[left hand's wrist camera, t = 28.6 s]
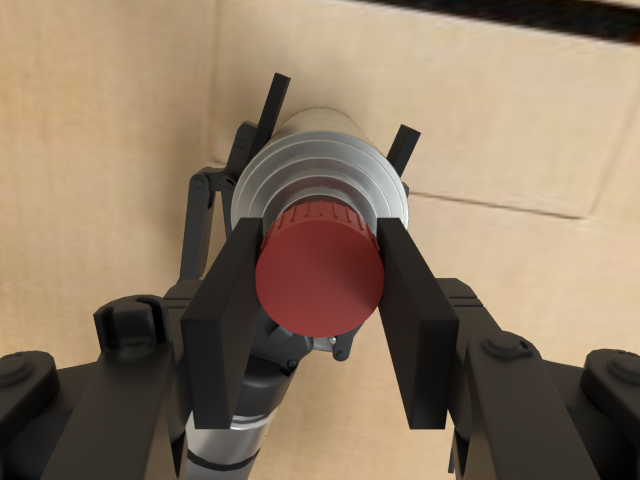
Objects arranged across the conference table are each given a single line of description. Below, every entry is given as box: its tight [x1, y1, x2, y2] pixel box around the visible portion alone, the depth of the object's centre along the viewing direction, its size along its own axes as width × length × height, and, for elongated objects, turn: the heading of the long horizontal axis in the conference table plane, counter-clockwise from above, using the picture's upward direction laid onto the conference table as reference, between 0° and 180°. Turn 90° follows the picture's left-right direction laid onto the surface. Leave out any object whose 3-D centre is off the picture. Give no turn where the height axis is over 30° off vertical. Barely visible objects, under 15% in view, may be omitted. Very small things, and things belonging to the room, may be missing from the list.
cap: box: [255, 200, 384, 337], centre depth 13 cm, size 4×4×2 cm
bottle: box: [231, 108, 409, 237], centre depth 23 cm, size 8×8×22 cm
